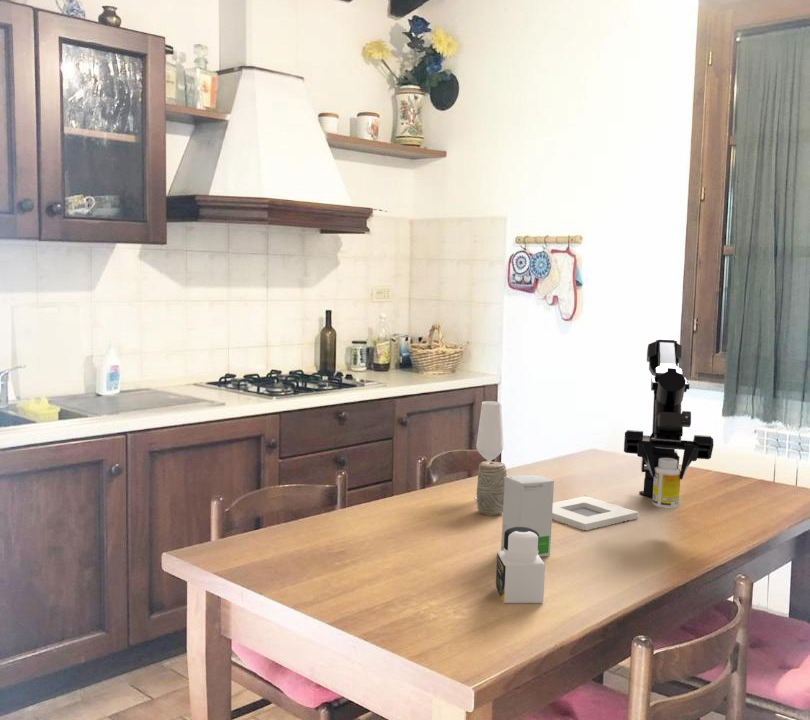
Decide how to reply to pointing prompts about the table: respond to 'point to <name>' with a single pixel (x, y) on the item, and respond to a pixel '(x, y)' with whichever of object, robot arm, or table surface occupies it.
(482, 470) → the carving
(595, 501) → the socket plate
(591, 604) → the table surface
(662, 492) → the supplement bottle
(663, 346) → the robot arm
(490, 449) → the champagne flute
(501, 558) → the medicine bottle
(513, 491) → the skincare box
